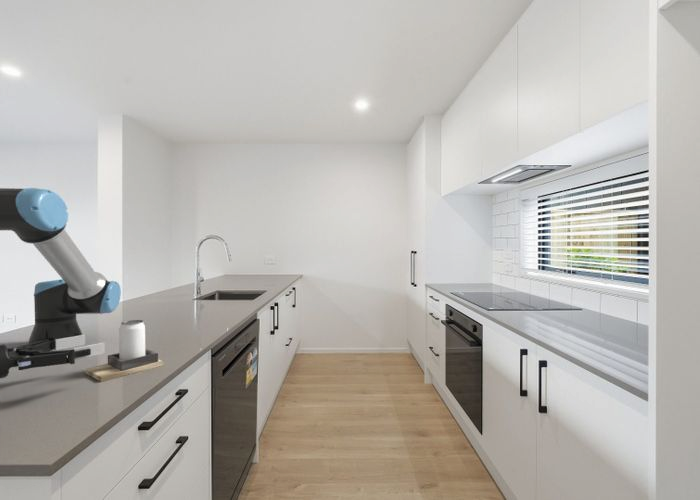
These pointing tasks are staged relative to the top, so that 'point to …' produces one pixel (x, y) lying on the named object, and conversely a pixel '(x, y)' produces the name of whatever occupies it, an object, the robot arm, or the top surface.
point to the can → (131, 339)
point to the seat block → (124, 366)
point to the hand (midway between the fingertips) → (94, 343)
